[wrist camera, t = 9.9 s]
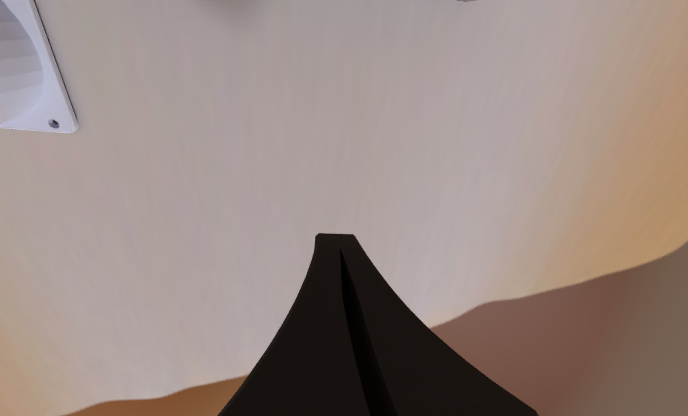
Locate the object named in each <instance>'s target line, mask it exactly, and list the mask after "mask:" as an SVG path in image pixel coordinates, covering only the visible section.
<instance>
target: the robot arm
mask: <svg viewBox="0 0 688 416" xmlns="http://www.w3.org/2000/svg"><path fill="white" fill-rule="evenodd" d="M53 120H55V121H57V122H58V124H59V126H57V125H56V124H55V123H54V122H53ZM0 128H6V129H19V130H32V131H45V132H58V133H72V132H74V131H76V130H77V129H78V123H77V120H76V117H75V114H74V111H73V109H72V106H71V103H70V100H69V98H68V95H67V92H66V89H65V86H64V84H63V81H62V78H61V75H60V72H59V70H58V67H57V64H56V61H55V59H54V56H53V53H52V50H51V47H50V45H49V42H48V39H47V36H46V34H45V31H44V28H43V25H42V22H41V20H40V17H39V14H38V11H37V8H36V6H35V3H34V0H0ZM218 416H538V414H537V412H536V411H535V410H534V409H532V408H531V407H529V406H528V405H526V404H525V403H523V402H522V401H520V400H519V399H518V398H516V397H515V396H513V395H512V394H511V393H509V392H508V391H506V390H505V389H503V388H502V387H501V386H499V385H498V384H496V383H495V382H493V381H492V380H490V379H489V378H488V377H486V376H485V375H484V374H483V373H481V372H480V371H479V370H477V369H476V368H475V367H474V366H472V365H471V364H470V363H468V362H467V361H466V360H465V359H463V358H462V357H461V356H460V355H458V354H457V353H456V352H455V351H454V350H453V349H451V348H450V347H449V346H448V345H447V344H446V343H445V342H443V341H442V340H441V339H440V338H439V337H438V336H436V335H435V334H434V333H433V332H432V331H431V330H430V329H429V328H428V327H427V326H426V325H425V324H424V323H423V322H422V321H421V320H420V319H419V318H418V317H417V316H416V315H415V314H414V313H413V312H412V311H411V310H410V309H409V308H408V307H407V306H406V305H405V303H404V302H403V301H402V300H401V299H400V298H399V297H398V295H397V294H396V293H395V292H394V291H393V289H392V288H391V287H390V286H389V285H388V283H387V282H386V281H385V279H384V278H383V277H382V275H381V274H380V273H379V271H378V270H377V269H376V267H375V266H374V265H373V263H372V262H371V260H370V259H369V257H368V256H367V254H366V253H365V251H364V250H363V248H362V247H361V245H360V244H359V242H358V240H357V239H356V237H355V236H354V235H353V234H324V233H319V234H317V235H316V237H315V248H314V253H313V257H312V261H311V263H310V266H309V269H308V272H307V275H306V277H305V280H304V282H303V284H302V286H301V289H300V291H299V293H298V295H297V298H296V300H295V302H294V304H293V306H292V307H291V309H290V311H289V313H288V315H287V317H286V318H285V320H284V322H283V324H282V325H281V327H280V329H279V330H278V332H277V334H276V335H275V337H274V339H273V340H272V342H271V343H270V345H269V347H268V348H267V350H266V351H265V353H264V354H263V356H262V357H261V358H260V360H259V361H258V363H257V364H256V365H255V367H254V368H253V370H252V371H251V373H250V374H249V376H248V377H247V378H246V380H245V381H244V383H243V384H242V385H241V387H240V388H239V389H238V391H237V392H236V393H235V394H234V396H233V397H232V398H231V399H230V401H229V402H228V403H227V405H226V406H225V407H224V408H223V409H222V411H221V412H220V413H219V414H218Z"/></svg>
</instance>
